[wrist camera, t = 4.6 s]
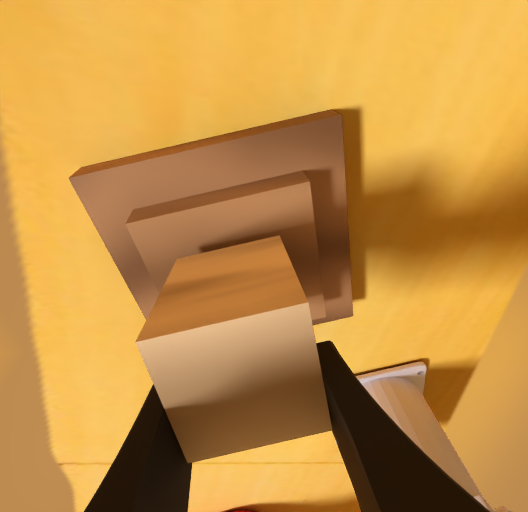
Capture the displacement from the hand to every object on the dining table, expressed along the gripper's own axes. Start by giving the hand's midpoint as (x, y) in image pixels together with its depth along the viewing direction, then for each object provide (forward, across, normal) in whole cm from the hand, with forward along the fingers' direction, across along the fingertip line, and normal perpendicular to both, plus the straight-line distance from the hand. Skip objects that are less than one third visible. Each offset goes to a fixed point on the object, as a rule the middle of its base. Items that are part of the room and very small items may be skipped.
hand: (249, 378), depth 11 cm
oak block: (+4, 0, 0) cm, 5 cm away
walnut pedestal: (+9, 0, 0) cm, 9 cm away
